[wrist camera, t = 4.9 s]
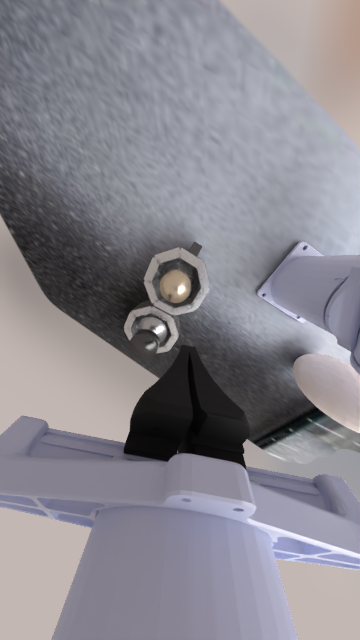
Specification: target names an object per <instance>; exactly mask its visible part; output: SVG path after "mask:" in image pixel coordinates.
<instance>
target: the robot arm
mask: <svg viewBox="0 0 360 640" xmlns="http://www.w3.org/2000/svg"><path fill="white" fill-rule="evenodd" d="M304 246H305V249H304V250H303V247H304ZM262 294H264V296H262ZM257 295H258V296H259V297H261V298H262V299H264V300H265V301H267V302H268V303H270V304H272V305H273V306H275V307H276V308H278V309H280V310H281V311H283V312H284V313H286V314H287V315H289V316H291V317H292V318H294V319H295V320H297V321H298V322H300V323H304V322H305V321H309V322H311V323H313V324H314V325H316V326H318V327H320V328H322V329H324V330H326V331H328V332H329V333H331V334H333V335H335V336H336V338H337V344H339V345H340V346H342V347H344V348H346V349H347V350H349V351H351V356H350V362H351V365H352V367H353V368H354V369H355V371H356V372H357V373H358V374H359V375H360V255H344V256H323V255H322V254H321V253H319V252H318V251H317V250H316V249H314V248H313V247H312V246H310V245H309V244H308V243H306V242H305V241H302V242H299V243H298V244H297V245H296V246H295V247H294V248H293V250H292V251H291V252H290V253H289V254H288V256H287V257H286V258H285V259H284V260H283V261H282V263H281V264H280V265H279V266H278V267H277V269H276V270H275V271H274V272H273V273H272V275H271V276H270V277H269V278H268V279H267V281H266V282H265V283H264V284H263V285H262V286H261V288H260V289H259V290H258V291H257ZM297 316H298V317H297ZM250 434H251V429H250V426H249V423H248V420H247V418H246V415H245V413H244V411H243V410H242V409H241V408H239V407H238V406H237V405H236V404H235V403H234V402H233V401H232V400H231V399H230V398H229V397H228V396H227V395H226V394H225V393H224V392H223V391H222V390H221V389H220V388H219V386H218V385H217V384H216V383H215V382H214V380H213V379H212V378H211V376H210V375H209V373H208V372H207V370H206V368H205V367H204V365H203V363H202V361H201V359H200V357H199V355H198V353H197V350H196V348H195V347H190V346H185V345H182V346H181V349H180V352H179V354H178V356H177V358H176V360H175V361H174V363H173V364H172V366H171V367H170V368H169V370H168V371H167V372H166V373H165V374H164V375H163V376H162V377H161V378H160V379H159V380H158V381H157V382H156V383H155V384H154V385H153V386H151V387H150V388H149V389H148V390H146V391H145V392H144V394H143V395H142V396H141V398H140V399H139V401H138V403H137V405H136V406H135V408H134V411H133V414H132V417H131V420H130V432H129V435H128V438H127V440H126V443H122V442H117V441H112V440H107V439H101V438H96V437H91V436H86V435H81V434H76V433H71V432H66V431H60V430H55V429H50V428H48V424H47V422H46V421H44V420H42V419H37V418H32V417H27V416H21V417H20V418H19V419H17V421H15V422H14V423H13V424H12V425H11V426H10V427H9V428H8V429H7V430H6V431H5V432H4V433H3V434H1V435H0V507H3V508H7V509H12V510H17V511H21V512H26V513H30V514H34V515H39V516H43V517H47V518H51V519H55V520H59V521H63V522H68V523H72V524H76V525H80V526H84V527H89V528H92V530H91V533H90V535H89V538H88V541H87V544H86V547H85V549H84V552H83V555H82V557H81V560H80V563H79V566H78V568H77V571H76V574H75V577H74V580H73V582H72V585H71V588H70V590H69V594H68V596H67V599H66V601H65V604H64V607H63V610H62V612H61V615H60V618H59V621H58V624H57V626H56V629H55V632H54V635H53V637H52V640H298V637H297V633H296V630H295V626H294V623H293V619H292V616H291V612H290V609H289V605H288V601H287V598H286V595H285V591H284V587H283V584H282V580H281V577H280V573H279V570H278V566H277V563H276V559H280V560H289V561H296V562H305V563H313V564H320V565H328V566H335V567H342V568H347V569H353V570H360V502H359V501H358V499H357V497H356V496H355V495H354V493H353V492H352V490H351V489H350V487H349V486H348V485H347V483H346V482H345V480H344V479H342V478H341V477H335V476H330V475H318V476H316V477H315V478H314V479H309V478H303V477H298V476H293V475H288V474H283V473H278V472H272V471H267V470H262V469H257V468H251V467H247V466H246V465H245V461H244V457H243V454H244V448H243V445H242V444H243V443H244V442H245V441H246V439H247V438H248V437H249V435H250ZM177 451H178V453H177Z"/></svg>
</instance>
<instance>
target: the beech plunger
mask: <svg viewBox="0 0 360 640" xmlns="http://www.w3.org/2000/svg"><path fill="white" fill-rule="evenodd" d="M193 287H194V276H193V273H192V271H191V270H190V269H189V268H188V267H187V266H185V265H182V264H175V265H172V266H170V267H168V268H167V269H166V270H165V272H164V274H163V277H162V279H161V281H160V285H159V288H160V292H161V294H162V296H163V297H164V298H165V299H166V300H167V301H169V302H172V303H179V302H182V301H184V300H185V299H186V298H187V297H188V296H189V294H190V292H191V291H192V289H193Z"/></svg>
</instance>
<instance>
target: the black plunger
mask: <svg viewBox="0 0 360 640" xmlns="http://www.w3.org/2000/svg"><path fill="white" fill-rule="evenodd" d="M166 334H167V326H166V324H165V322H164V321H163V320H162V319H160V318H159V317H156V316H146V317H144V318H142V319H141V320H140V322H139V323H138V325H137V332H136V333H135V334H134V335H133V337H132V338H131V339H130V341H129V349H130V351H131V352H132V354H134V355H135V356H136V357H138V358H142V359H149V358H152V357H153V356H155V355H156V353H157V350H158V347H159V344H160V342H161V341H163V340H164V339H165V337H166Z"/></svg>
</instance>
